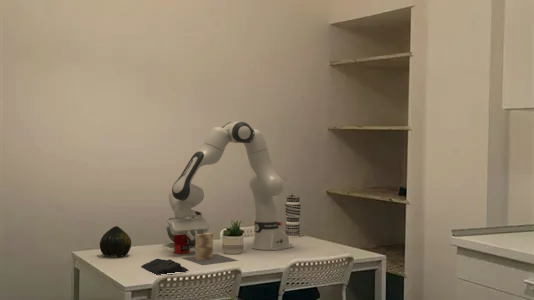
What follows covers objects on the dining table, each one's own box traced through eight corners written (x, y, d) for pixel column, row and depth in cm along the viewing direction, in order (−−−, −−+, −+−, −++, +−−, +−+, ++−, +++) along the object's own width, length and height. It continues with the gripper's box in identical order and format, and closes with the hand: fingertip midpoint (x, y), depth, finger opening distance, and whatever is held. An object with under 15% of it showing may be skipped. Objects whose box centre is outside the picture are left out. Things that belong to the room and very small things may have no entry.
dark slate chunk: (169, 264, 295) (169, 254, 295) (190, 273, 277) (191, 262, 276) (138, 267, 287) (138, 257, 287) (158, 277, 268) (158, 266, 268)
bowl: (159, 244, 345) (159, 225, 345) (194, 241, 357) (194, 223, 356) (176, 250, 328) (176, 231, 328) (211, 246, 339) (212, 228, 339)
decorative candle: (288, 237, 372) (288, 195, 372) (282, 235, 381) (283, 193, 381) (302, 237, 375) (303, 194, 375) (296, 234, 384) (297, 193, 384)
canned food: (183, 255, 314) (183, 233, 314) (170, 253, 318) (170, 231, 318) (192, 253, 321) (192, 231, 320) (180, 251, 325) (180, 230, 324)
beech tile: (209, 257, 307) (210, 232, 307) (212, 258, 305) (212, 233, 305) (195, 259, 302) (195, 234, 302) (198, 260, 300) (198, 235, 300)
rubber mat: (216, 254, 317) (216, 253, 317) (238, 261, 301) (239, 260, 301) (181, 258, 306) (181, 258, 306) (202, 266, 290) (202, 265, 290)
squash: (111, 249, 298) (126, 223, 307) (89, 247, 306) (104, 221, 315) (128, 265, 307) (142, 239, 316) (106, 263, 315) (120, 238, 324)
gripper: (168, 214, 310) (177, 237, 302) (204, 212, 322) (214, 234, 314) (164, 222, 314) (173, 245, 306) (200, 220, 326) (209, 241, 318)
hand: (194, 239), depth 310 cm, fingers closed
